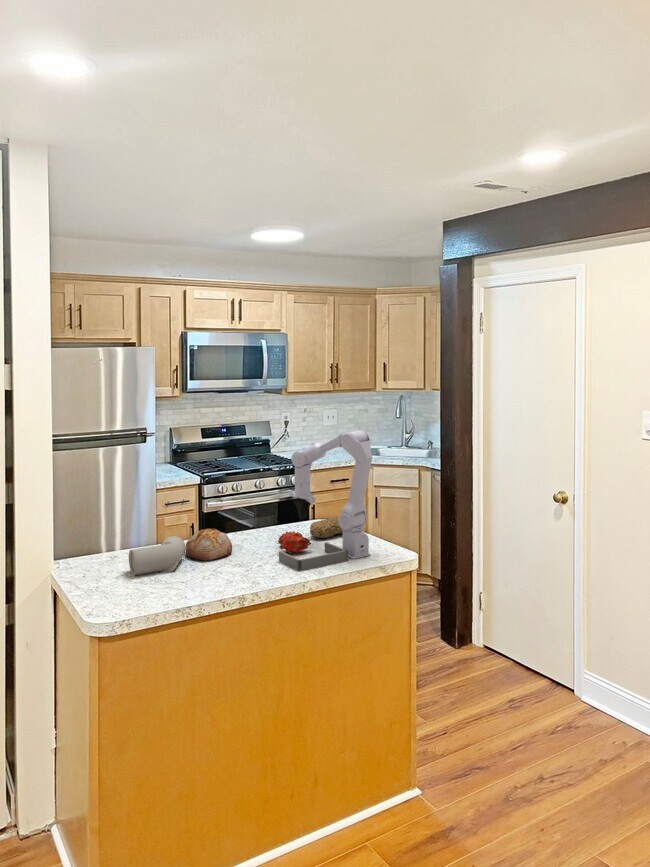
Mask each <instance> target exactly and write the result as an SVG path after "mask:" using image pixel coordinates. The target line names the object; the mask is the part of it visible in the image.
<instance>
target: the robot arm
mask: <svg viewBox="0 0 650 867" xmlns="http://www.w3.org/2000/svg"><path fill="white" fill-rule="evenodd" d="M371 442H372V438H371V436H370V435H369V433H368V432H367V431H366V430H364V429H358V430H353V431H344V432H343V433H340V434H337V435H336V436H333V437H331V438H330V439H329V440H328V439H327V441H324V442H323V443H321V442H317V441H314V442H312V443H311V445H309V446H307V447H302V450H299V451H298V450H297V451H295V452H294V453H292V454H291V463H292V464H293V466H294V490H292V491H290V497H292V498H295V499H294V500H293V503H294V505H295V507H296V510H297V513H298V517H299V519H300V520H305V519H307V516H308V512H309V509H310V507H311V504H315V503H316V497H315V496H313V495H312V493H311V469H312V464H313V463H315V462H316V461H318V460H320V459H322V458H324V457H325V456H326V454H327V452H329V451H331V450H333V449H336V448H343V450H345V451H346V453H347V454H349V455H350V456H352V458H353V459H354V460H355V463H354V468H353V472H352V479H351V483H350V488H349V494H348V497H347V503H346V504H345V505H344V506H343V508H342V510H341V513H340V514H339V515H338V516H339V518H338V523H339V526H340V527H341V528H342V531H343V533H342V548H343V549H345V550H348V558H350V559H354V560H355V559H358V558H364V557H366V556H367V557H368V556H371V555H372V554H371V553H370V552H369V551H370V550H369V546H370V545H369V542H370V541H369V536H368V535H367V533H365V531H364V525H366V522H367V520H368V518H367V507H366V506H365V505H364V501H365V498H366V497H365V496H366V491H367V486H368V481H369V478H370V477H369V476H370V472H371V466H372V461H373V452H372V449H371Z"/></svg>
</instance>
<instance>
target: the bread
mask: <svg viewBox="0 0 650 867" xmlns="http://www.w3.org/2000/svg"><path fill="white" fill-rule="evenodd" d="M185 546H186V551H185V553H186V555H187V556H188V558H190V559H192V560H197V561H204V562H209V561H214V560H217V559H221V558H225V557H227V556H230V555H231V554H232V552H233V544H232V541H231V539H230V537H228V535H227V534H226V533H225V532H222V531H220V530H217V529H216V528H204V529H200V530H198V531H197V532H195V533H194V534H193V535H191V536H190V537H189V538H188V539H187V541H186V543H185Z"/></svg>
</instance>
